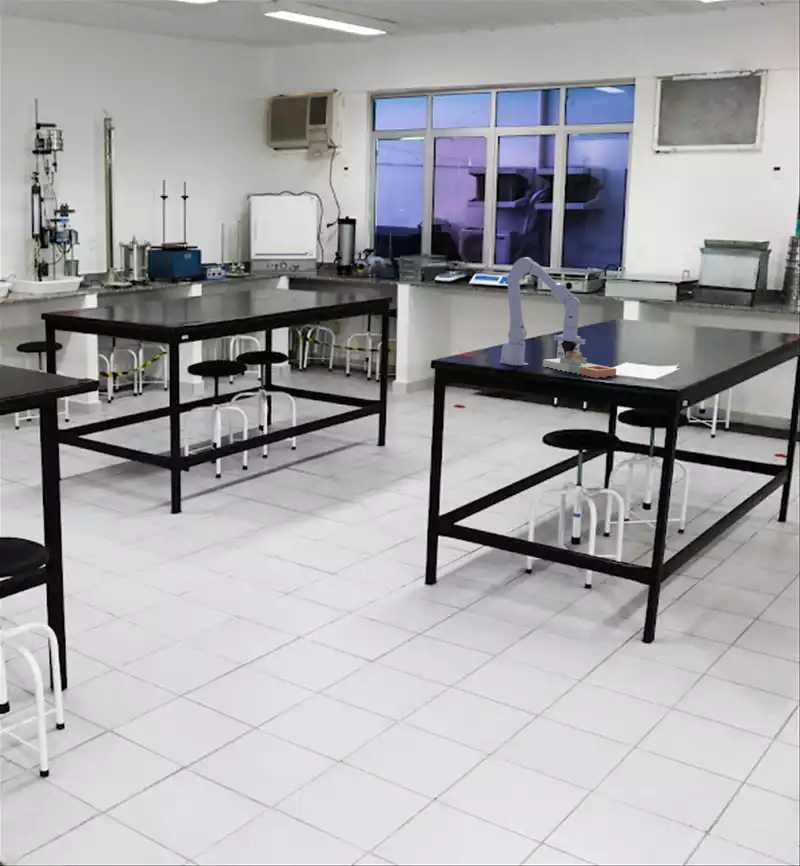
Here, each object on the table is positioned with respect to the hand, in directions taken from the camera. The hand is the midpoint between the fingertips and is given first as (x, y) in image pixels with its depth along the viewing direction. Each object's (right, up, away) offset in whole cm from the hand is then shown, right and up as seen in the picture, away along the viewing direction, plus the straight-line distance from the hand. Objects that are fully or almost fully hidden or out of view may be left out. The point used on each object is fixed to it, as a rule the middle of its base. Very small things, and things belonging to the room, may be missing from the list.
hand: (567, 359), depth 420 cm
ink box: (+3, 0, +19) cm, 19 cm away
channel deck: (+4, -5, -4) cm, 7 cm away
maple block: (+2, -2, -3) cm, 4 cm away
